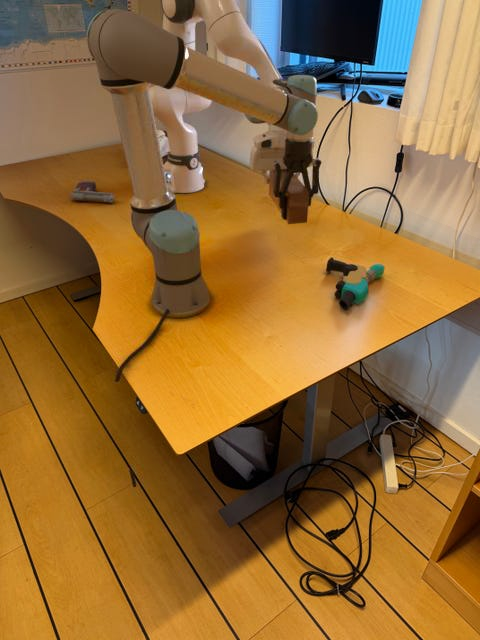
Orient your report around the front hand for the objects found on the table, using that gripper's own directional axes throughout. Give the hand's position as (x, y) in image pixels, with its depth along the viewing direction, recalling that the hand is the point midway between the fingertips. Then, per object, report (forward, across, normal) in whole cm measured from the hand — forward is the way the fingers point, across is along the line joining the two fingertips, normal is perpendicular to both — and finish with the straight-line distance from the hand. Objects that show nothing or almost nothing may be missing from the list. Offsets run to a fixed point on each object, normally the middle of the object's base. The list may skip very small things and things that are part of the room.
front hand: (294, 216), depth 144 cm
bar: (0, 0, -8) cm, 9 cm away
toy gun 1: (+10, +63, -56) cm, 85 cm away
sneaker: (+10, +39, -100) cm, 108 cm away
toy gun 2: (+10, -8, +27) cm, 30 cm away
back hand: (-5, 0, -17) cm, 17 cm away
